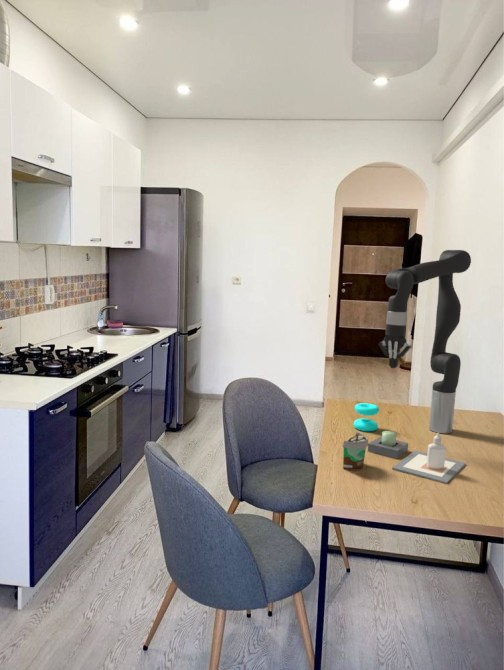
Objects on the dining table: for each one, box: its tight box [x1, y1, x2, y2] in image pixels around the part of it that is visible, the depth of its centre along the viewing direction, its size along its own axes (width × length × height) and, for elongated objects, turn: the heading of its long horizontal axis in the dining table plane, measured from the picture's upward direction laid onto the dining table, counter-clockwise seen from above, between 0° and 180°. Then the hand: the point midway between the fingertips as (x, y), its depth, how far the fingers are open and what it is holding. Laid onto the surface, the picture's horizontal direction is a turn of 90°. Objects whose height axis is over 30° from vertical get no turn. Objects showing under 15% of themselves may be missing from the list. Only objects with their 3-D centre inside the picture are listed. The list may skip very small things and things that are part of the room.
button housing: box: [367, 435, 409, 460], centre depth 194 cm, size 11×11×3 cm
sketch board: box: [391, 450, 467, 485], centre depth 180 cm, size 22×18×1 cm
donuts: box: [353, 402, 380, 432], centre depth 220 cm, size 10×10×10 cm
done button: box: [381, 430, 397, 447], centre depth 194 cm, size 5×5×6 cm
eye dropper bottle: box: [426, 432, 447, 469], centre depth 177 cm, size 4×6×12 cm
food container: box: [342, 432, 369, 471], centre depth 177 cm, size 12×6×10 cm, turn 148°
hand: (393, 367), depth 203 cm, fingers closed
